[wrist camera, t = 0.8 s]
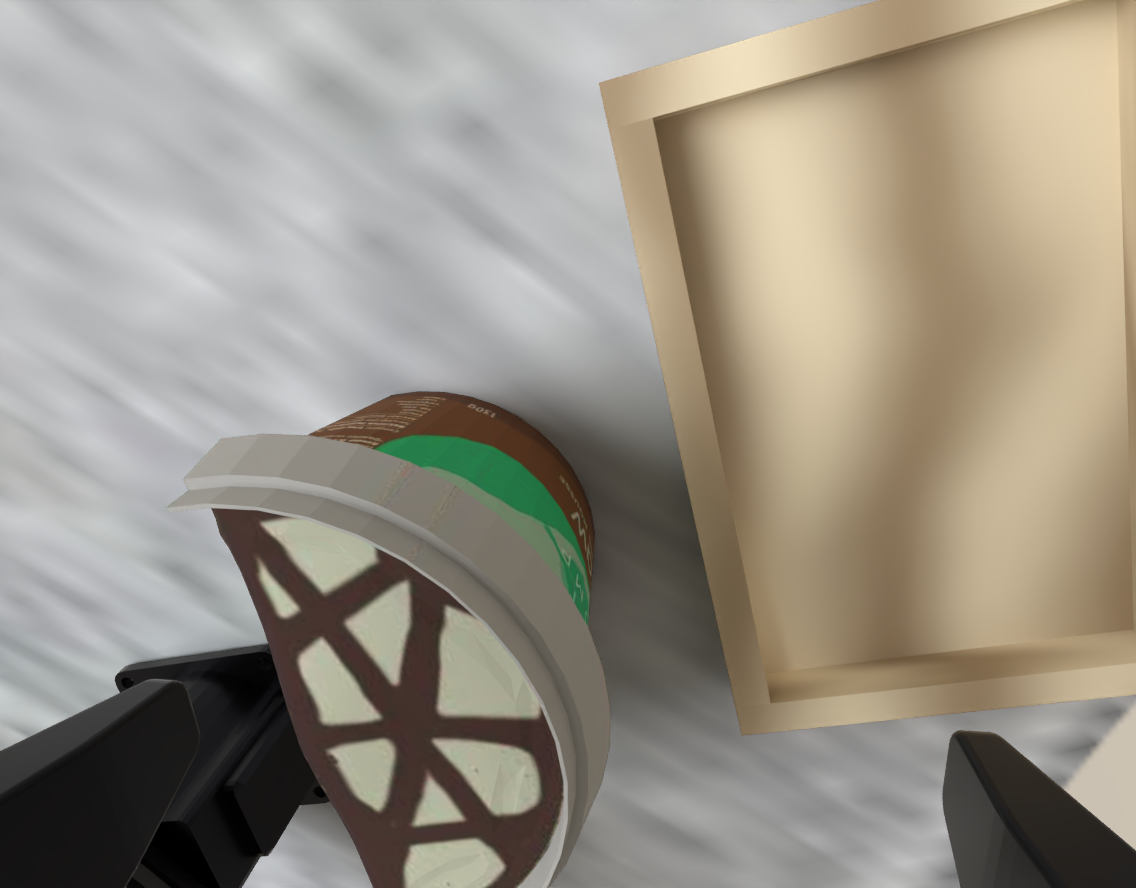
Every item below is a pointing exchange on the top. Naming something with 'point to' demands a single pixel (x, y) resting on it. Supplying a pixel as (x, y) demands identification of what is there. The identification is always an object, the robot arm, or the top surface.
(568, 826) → the food container
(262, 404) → the top surface
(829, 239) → the wooden tray
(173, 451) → the top surface
